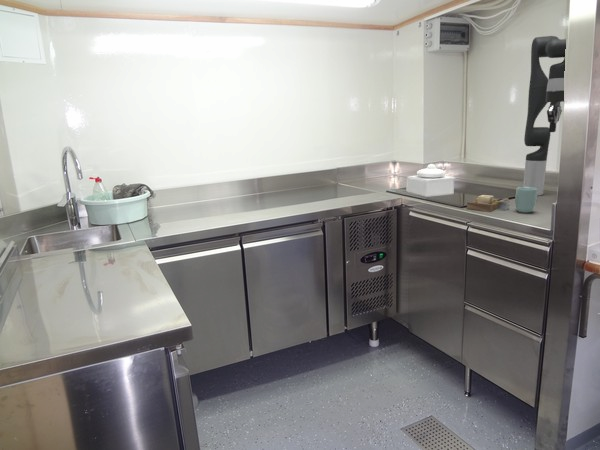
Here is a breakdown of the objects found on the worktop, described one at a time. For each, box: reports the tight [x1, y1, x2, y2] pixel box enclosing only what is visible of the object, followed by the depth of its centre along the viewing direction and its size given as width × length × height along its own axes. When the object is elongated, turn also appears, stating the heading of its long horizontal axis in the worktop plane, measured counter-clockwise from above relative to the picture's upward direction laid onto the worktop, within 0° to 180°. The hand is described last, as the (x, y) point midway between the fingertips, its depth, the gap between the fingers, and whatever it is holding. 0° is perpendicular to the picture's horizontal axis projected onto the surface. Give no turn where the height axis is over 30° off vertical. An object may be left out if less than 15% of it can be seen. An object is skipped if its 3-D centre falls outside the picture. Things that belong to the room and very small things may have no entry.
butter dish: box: [405, 163, 457, 198], centre depth 228 cm, size 18×18×16 cm
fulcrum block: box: [497, 200, 510, 211], centre depth 186 cm, size 4×3×4 cm
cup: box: [514, 186, 538, 214], centre depth 179 cm, size 8×8×10 cm
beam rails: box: [466, 197, 510, 213], centre depth 192 cm, size 22×10×3 cm, turn 136°
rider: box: [477, 194, 495, 204], centre depth 190 cm, size 5×5×5 cm
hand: (552, 132), depth 185 cm, fingers closed
